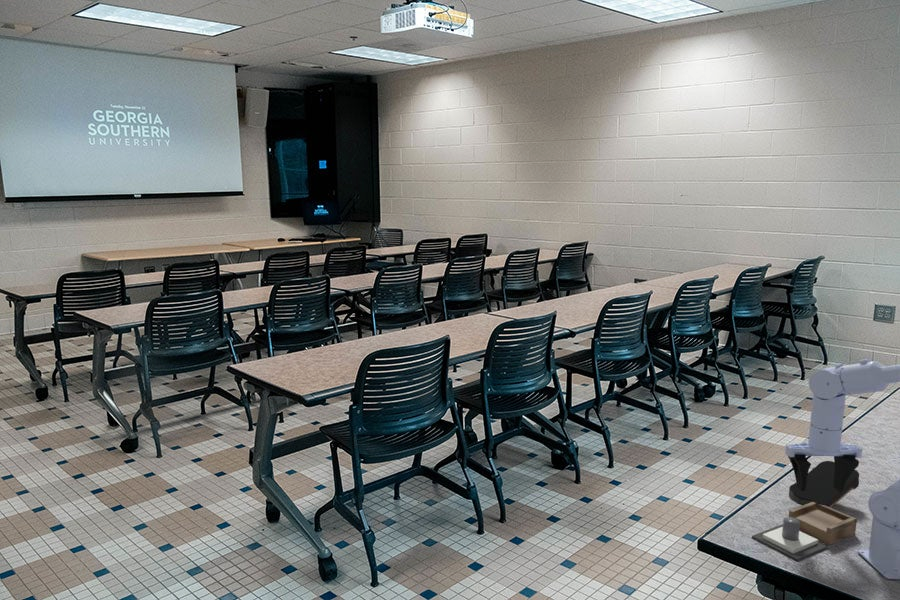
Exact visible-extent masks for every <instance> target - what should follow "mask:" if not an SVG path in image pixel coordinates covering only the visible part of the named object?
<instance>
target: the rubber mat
mask: <svg viewBox="0 0 900 600" xmlns="http://www.w3.org/2000/svg"><path fill="white" fill-rule="evenodd" d="M780 527H783V523H782V524H779V525H777V526H774V527H772V528H769V529H767V530H763V531H761V532H759V533H758V532H757V533H756V534H753V535H751V539H754V541H755V540H756V541H757V542H759V543H761V544H764V545H765V546H768V547H769V548H771V549H772V550H775V551H778V552H779V553H781V554H783V555H786V556H787V557H789V558H791V559H793V560H795V561H797V562H799V561H801V560H803V559H805V558H808V557H810V556H813V555H815V554H817V553H819V552H822V551H824V550H826V549H829V547H830V545H828V544H825V543H823V542H821V541H819V540H818V544H815V545H813V546H810V547H808V548H806V549H803V550H801V551H798V552H796V553H794V554H793V553H791V552H789V551H787V550H785V549H783V548H781V547H779V546H777V545H775V544H773V543H771V542H770V541H768V540H766V539H764V538H762V537H763V534H765V533H767V532H770V531H773V530H775V529H778V528H780Z"/></svg>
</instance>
